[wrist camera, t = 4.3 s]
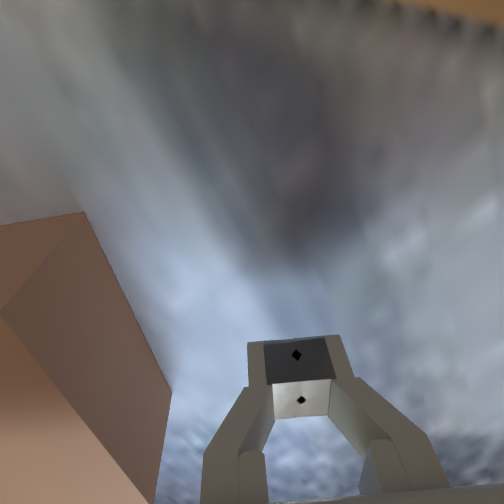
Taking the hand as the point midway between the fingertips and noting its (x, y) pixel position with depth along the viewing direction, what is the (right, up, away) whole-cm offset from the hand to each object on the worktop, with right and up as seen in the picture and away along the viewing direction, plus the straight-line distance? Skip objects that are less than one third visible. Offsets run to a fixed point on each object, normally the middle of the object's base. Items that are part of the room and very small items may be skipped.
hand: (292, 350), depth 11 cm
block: (-10, 0, +3) cm, 11 cm away
